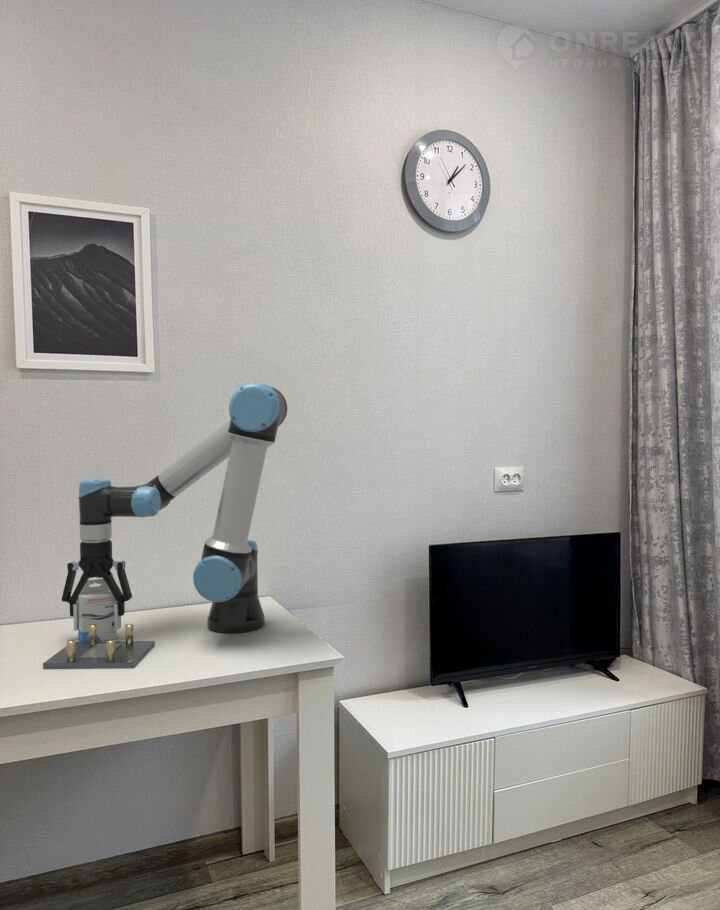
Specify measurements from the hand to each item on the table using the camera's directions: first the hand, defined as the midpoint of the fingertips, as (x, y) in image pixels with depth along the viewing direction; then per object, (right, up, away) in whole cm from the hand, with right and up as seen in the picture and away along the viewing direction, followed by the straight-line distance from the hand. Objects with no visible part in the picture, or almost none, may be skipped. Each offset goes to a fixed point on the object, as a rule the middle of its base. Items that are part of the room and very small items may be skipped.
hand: (97, 628), depth 174 cm
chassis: (+6, -3, -14) cm, 15 cm away
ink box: (0, -3, 0) cm, 3 cm away
